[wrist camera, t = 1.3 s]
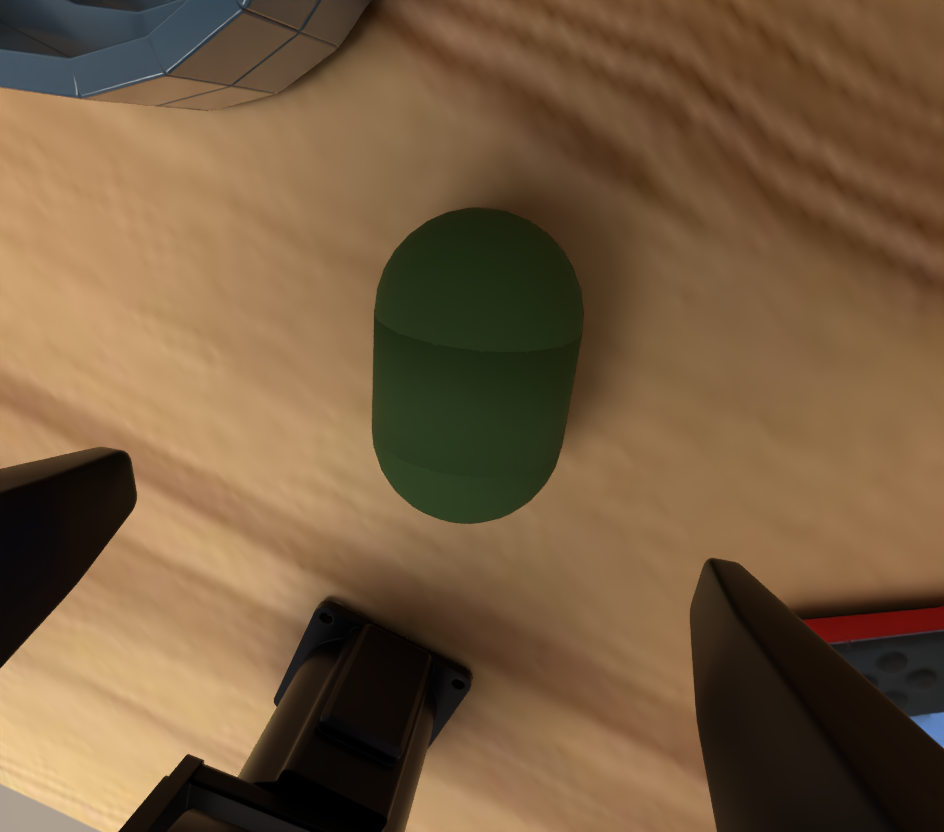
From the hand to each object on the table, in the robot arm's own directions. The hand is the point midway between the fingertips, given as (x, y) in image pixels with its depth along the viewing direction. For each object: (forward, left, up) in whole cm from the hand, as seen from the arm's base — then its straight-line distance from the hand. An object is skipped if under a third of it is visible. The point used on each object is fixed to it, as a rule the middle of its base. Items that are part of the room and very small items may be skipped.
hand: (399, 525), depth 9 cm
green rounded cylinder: (0, 0, -9) cm, 9 cm away
